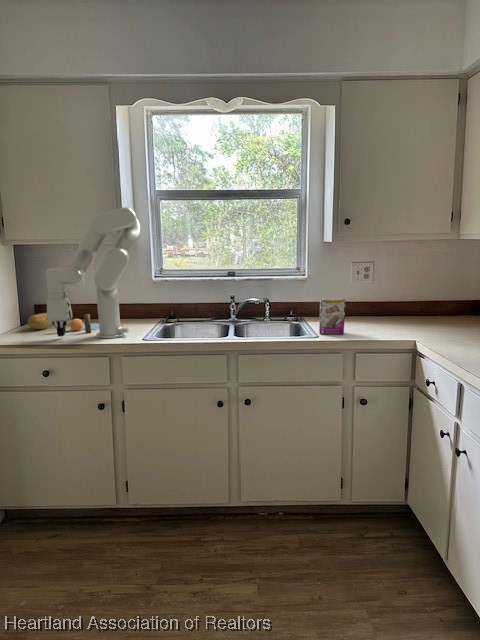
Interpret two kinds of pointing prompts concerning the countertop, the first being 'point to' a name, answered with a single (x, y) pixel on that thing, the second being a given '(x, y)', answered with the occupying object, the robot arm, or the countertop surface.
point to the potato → (39, 321)
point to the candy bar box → (332, 316)
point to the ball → (76, 324)
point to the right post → (87, 323)
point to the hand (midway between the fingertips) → (61, 335)
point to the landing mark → (93, 326)
